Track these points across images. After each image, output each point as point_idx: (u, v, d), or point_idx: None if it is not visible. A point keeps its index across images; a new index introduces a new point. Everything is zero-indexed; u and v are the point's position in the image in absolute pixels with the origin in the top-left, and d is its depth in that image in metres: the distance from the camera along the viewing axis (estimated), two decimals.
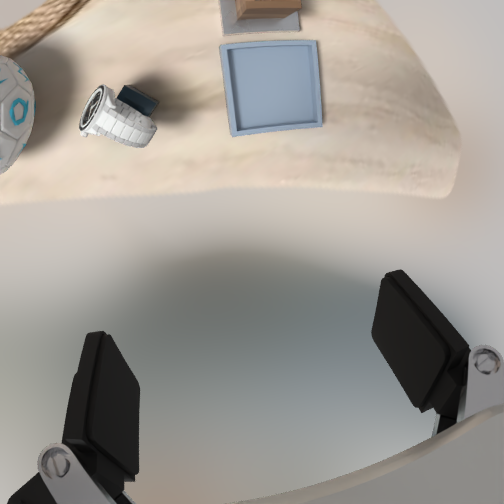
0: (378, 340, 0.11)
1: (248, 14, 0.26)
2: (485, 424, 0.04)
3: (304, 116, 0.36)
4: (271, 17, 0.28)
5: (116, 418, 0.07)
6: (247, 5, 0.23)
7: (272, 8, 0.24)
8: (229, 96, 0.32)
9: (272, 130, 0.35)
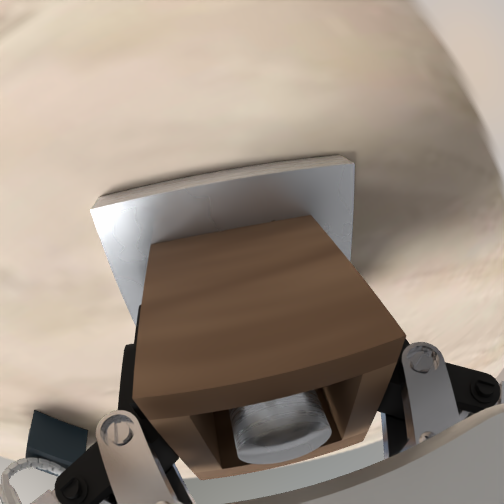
0: None
1: None
2: (485, 424, 0.04)
3: None
4: None
5: None
6: (202, 476, 0.08)
7: None
8: None
9: None
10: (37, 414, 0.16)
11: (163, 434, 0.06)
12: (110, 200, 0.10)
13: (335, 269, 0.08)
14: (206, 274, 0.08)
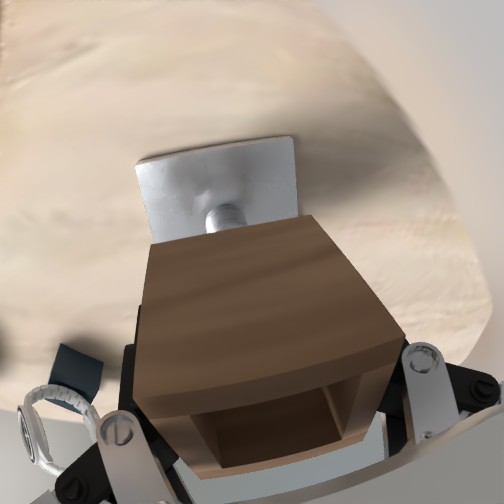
0: None
1: None
2: (485, 424, 0.04)
3: None
4: None
5: None
6: (202, 476, 0.08)
7: None
8: None
9: None
10: (62, 347, 0.22)
11: (163, 433, 0.06)
12: (146, 161, 0.16)
13: (335, 269, 0.08)
14: (206, 274, 0.08)
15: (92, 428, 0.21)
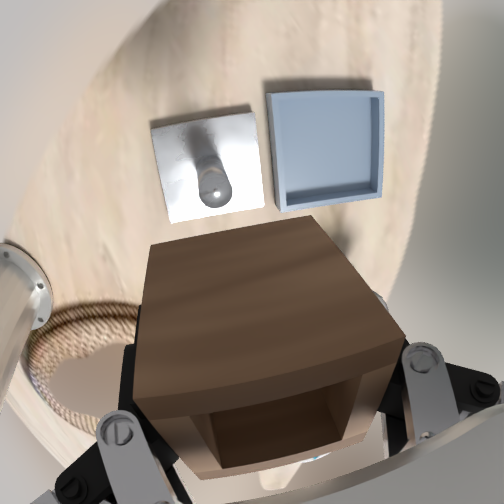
0: None
1: None
2: (485, 424, 0.04)
3: (365, 107, 0.27)
4: None
5: None
6: (202, 476, 0.08)
7: None
8: (341, 200, 0.30)
9: (382, 153, 0.28)
10: None
11: (163, 434, 0.06)
12: (169, 215, 0.29)
13: (335, 270, 0.08)
14: (206, 274, 0.08)
15: None
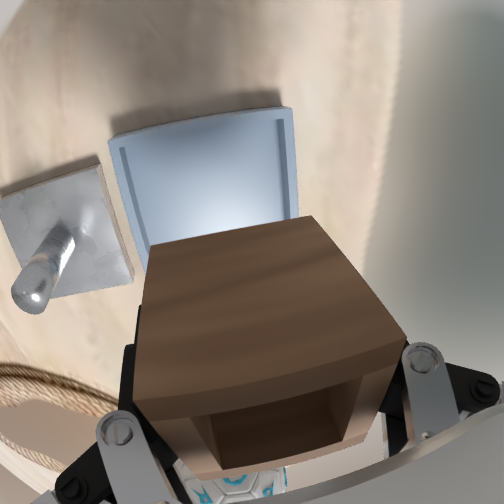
0: None
1: None
2: (485, 424, 0.04)
3: (268, 134, 0.19)
4: None
5: None
6: (202, 477, 0.08)
7: None
8: None
9: (296, 203, 0.21)
10: None
11: (163, 435, 0.06)
12: None
13: (336, 270, 0.08)
14: (206, 275, 0.08)
15: None
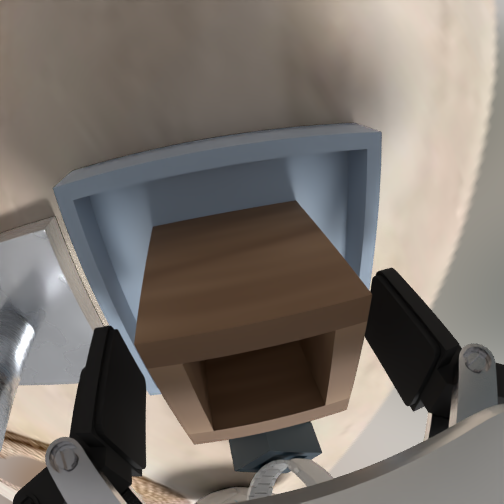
0: (370, 338, 0.11)
1: None
2: (485, 424, 0.04)
3: (332, 169, 0.12)
4: None
5: (124, 412, 0.07)
6: (195, 440, 0.09)
7: None
8: None
9: (367, 280, 0.13)
10: (231, 439, 0.22)
11: (159, 385, 0.07)
12: None
13: (313, 243, 0.09)
14: (201, 248, 0.10)
15: None
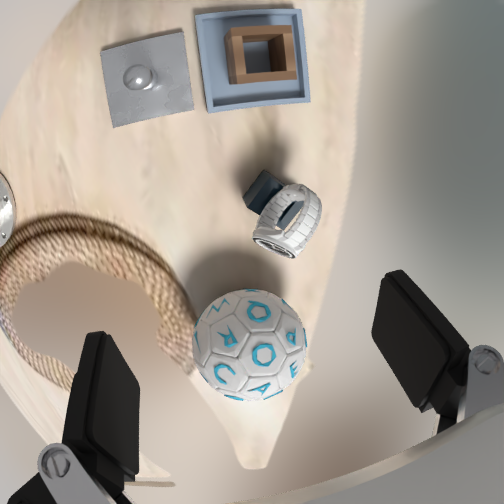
0: (378, 340, 0.11)
1: None
2: (485, 424, 0.04)
3: None
4: None
5: (116, 418, 0.07)
6: (238, 80, 0.25)
7: (265, 81, 0.26)
8: (267, 103, 0.31)
9: (305, 61, 0.29)
10: (244, 196, 0.37)
11: (233, 44, 0.23)
12: (112, 122, 0.29)
13: None
14: None
15: (297, 194, 0.33)
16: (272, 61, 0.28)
